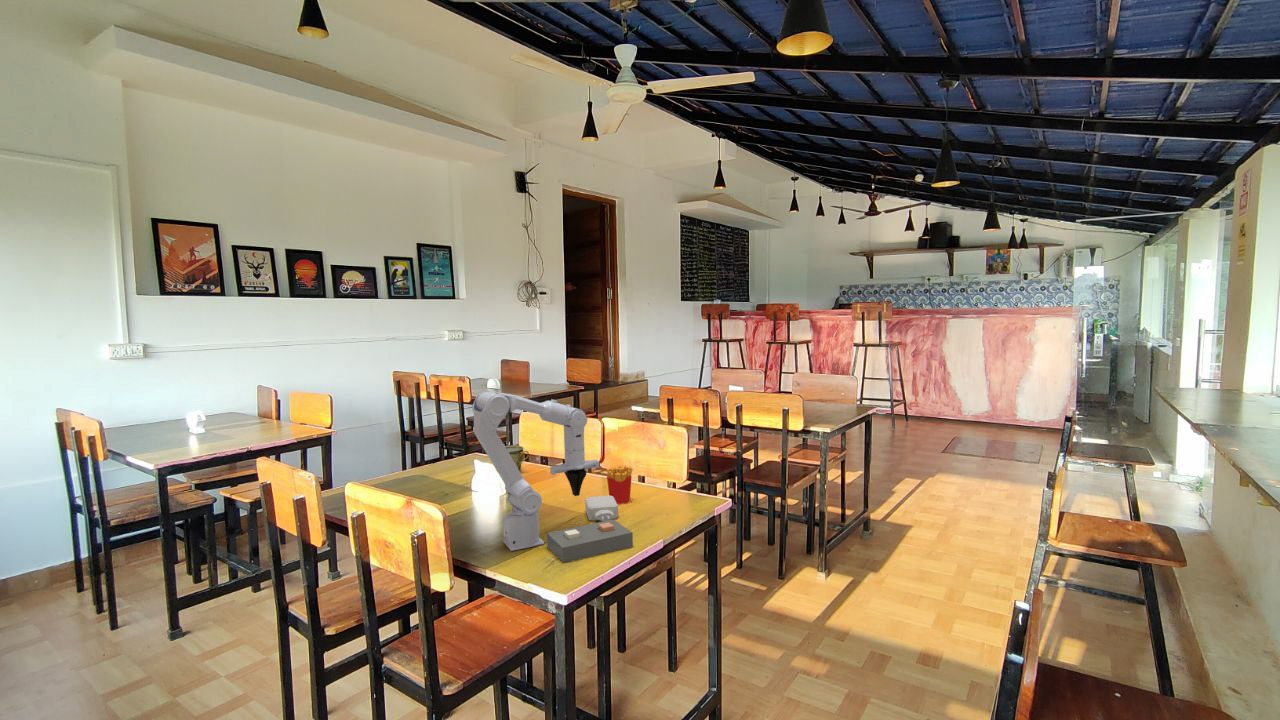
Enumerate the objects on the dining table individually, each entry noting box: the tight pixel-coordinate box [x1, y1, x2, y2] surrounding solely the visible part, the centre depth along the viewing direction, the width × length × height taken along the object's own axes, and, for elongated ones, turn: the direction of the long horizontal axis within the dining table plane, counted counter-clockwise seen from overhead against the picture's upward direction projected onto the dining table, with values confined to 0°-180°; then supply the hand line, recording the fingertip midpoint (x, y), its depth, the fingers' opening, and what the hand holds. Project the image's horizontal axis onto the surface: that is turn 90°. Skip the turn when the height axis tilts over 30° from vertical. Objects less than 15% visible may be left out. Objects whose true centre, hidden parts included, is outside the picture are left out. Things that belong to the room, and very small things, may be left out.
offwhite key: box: [564, 529, 580, 540], centre depth 164 cm, size 3×3×3 cm
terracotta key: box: [598, 522, 614, 533], centre depth 168 cm, size 3×3×3 cm
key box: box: [546, 519, 634, 564], centre depth 166 cm, size 20×12×4 cm, turn 118°
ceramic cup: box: [504, 445, 530, 472], centre depth 242 cm, size 13×10×10 cm
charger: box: [584, 495, 619, 522], centre depth 189 cm, size 5×9×15 cm
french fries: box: [606, 464, 633, 505], centre depth 204 cm, size 8×4×12 cm, turn 103°
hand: (576, 494), depth 179 cm, fingers closed
